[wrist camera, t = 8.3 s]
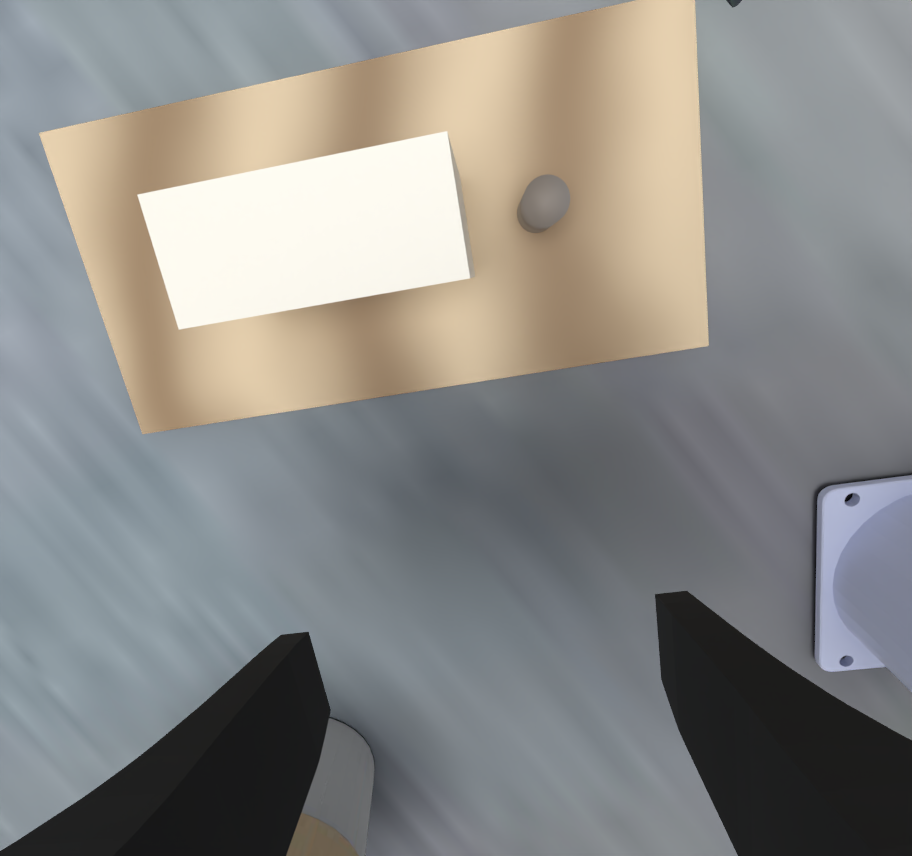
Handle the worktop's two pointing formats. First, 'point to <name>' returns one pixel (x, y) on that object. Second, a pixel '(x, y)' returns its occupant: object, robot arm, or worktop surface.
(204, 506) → the worktop surface
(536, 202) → the ledge
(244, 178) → the white rectangular block
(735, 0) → the dark slate chunk
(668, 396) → the worktop surface
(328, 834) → the coffee cup
